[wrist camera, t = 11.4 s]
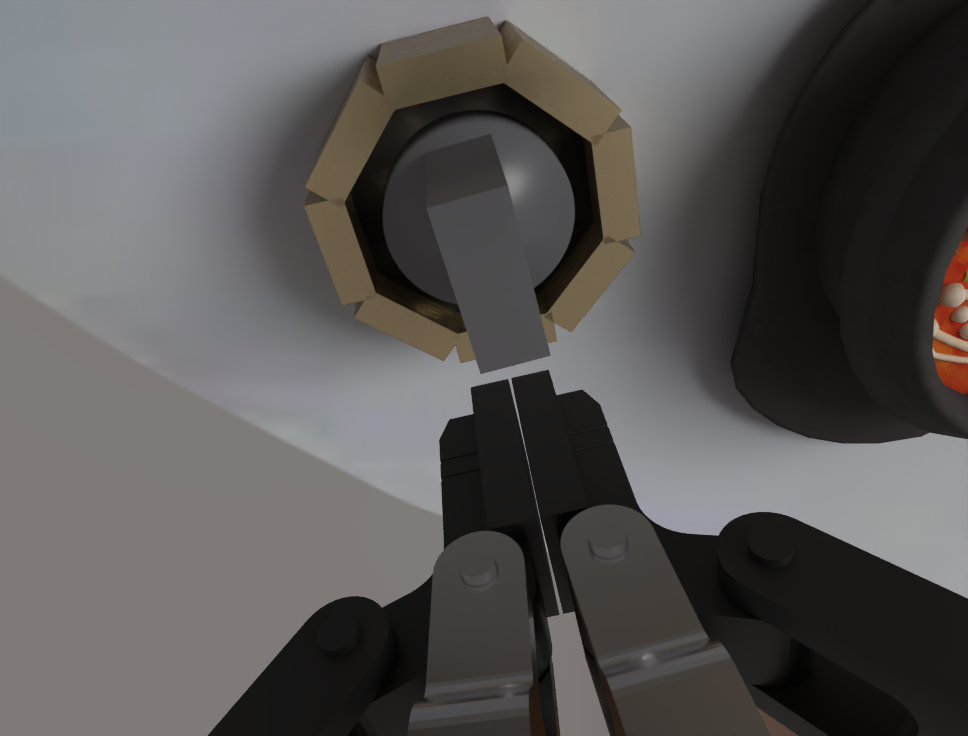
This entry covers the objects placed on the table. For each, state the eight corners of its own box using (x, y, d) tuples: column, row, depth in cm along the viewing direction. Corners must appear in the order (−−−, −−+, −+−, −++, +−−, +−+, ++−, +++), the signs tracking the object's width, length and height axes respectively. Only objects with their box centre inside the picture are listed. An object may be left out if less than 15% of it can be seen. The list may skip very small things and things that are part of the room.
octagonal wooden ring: (588, -9, 21) (620, 5, 18) (619, 270, 27) (648, 320, 24) (284, 67, 22) (261, 95, 18) (377, 326, 27) (371, 383, 24)
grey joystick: (545, 85, 20) (587, 140, 15) (580, 259, 24) (623, 351, 19) (357, 141, 21) (338, 212, 16) (417, 304, 24) (417, 405, 19)
